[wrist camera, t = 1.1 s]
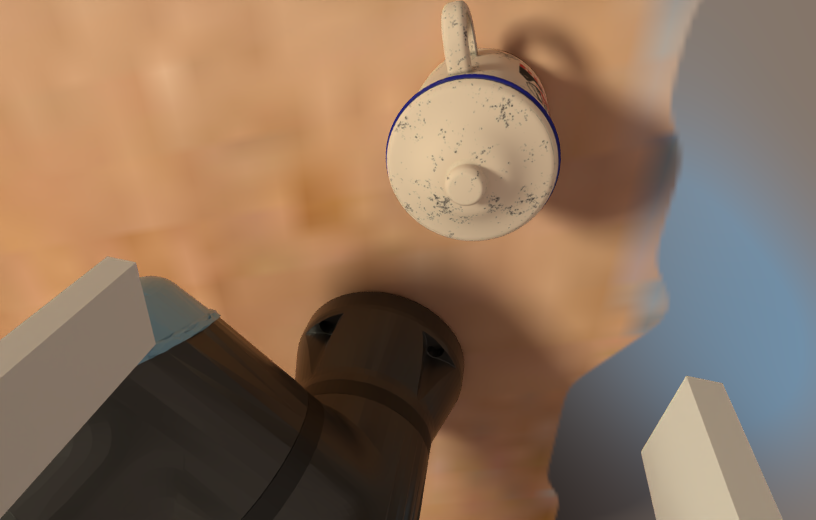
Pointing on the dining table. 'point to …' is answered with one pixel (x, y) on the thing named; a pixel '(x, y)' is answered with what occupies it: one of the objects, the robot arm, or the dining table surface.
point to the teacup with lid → (474, 140)
